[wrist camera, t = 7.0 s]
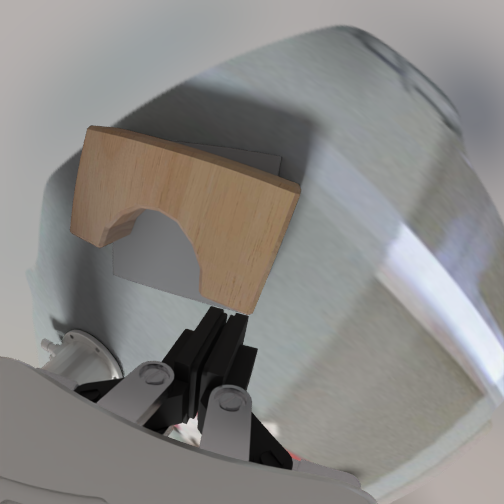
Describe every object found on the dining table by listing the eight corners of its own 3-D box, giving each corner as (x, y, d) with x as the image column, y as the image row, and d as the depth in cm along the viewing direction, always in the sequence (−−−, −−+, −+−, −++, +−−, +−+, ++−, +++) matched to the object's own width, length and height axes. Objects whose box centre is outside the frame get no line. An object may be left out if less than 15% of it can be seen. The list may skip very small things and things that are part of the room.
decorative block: (250, 319, 23) (67, 234, 24) (261, 289, 28) (100, 221, 30) (301, 191, 19) (84, 124, 20) (303, 184, 24) (119, 126, 26)
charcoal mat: (115, 273, 32) (113, 274, 31) (123, 137, 27) (120, 137, 26) (251, 312, 30) (250, 315, 29) (281, 156, 25) (281, 156, 24)
